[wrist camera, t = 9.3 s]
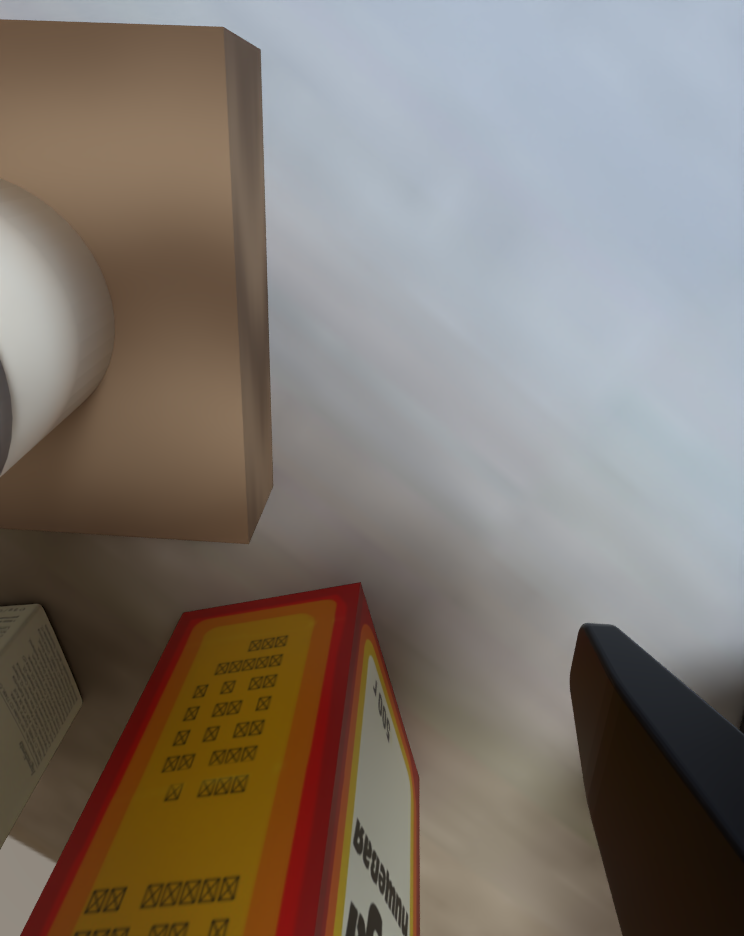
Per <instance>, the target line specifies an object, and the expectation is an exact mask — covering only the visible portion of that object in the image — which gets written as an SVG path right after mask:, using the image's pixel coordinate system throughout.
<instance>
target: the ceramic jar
mask: <svg viewBox="0 0 744 936" xmlns="http://www.w3.org/2000/svg"><path fill="white" fill-rule="evenodd" d="M114 336H115V327H114V313H113V307H112V301H111V298H110V294H109V291H108V287H107V284H106V282H105V279H104V277H103V274H102V272H101V270H100V268H99V266H98V264H97V262H96V260H95V258H94V257H93V255H92V253H91V251H90V250H89V249H88V247H87V246H86V244H85V243H84V242H83V240H82V239H81V237H80V236H79V235H78V234H77V233H76V231H75V230H74V229H73V228H72V227H71V226H70V225H69V223H68V222H67V221H66V220H65V219H64V218H62V217H61V216H60V215H59V214H58V213H57V212H56V211H55V210H54V209H53V208H51V207H50V206H49V205H47V204H46V203H45V202H43V201H42V200H40V199H39V198H38V197H36V196H35V195H33V194H31V193H30V192H28V191H26V190H24V189H23V188H21V187H19V186H17V185H15V184H13V183H10V182H8V181H6V180H3V179H1V178H0V477H1V476H2V475H3V474H4V473H6V472H7V471H8V470H9V469H10V468H11V467H12V466H13V465H14V464H16V463H17V462H18V461H19V460H20V459H21V458H22V457H23V456H24V455H25V454H27V453H28V452H29V451H30V450H31V449H32V448H33V447H34V446H35V445H37V444H38V443H39V442H40V441H41V440H42V439H43V438H44V437H45V436H46V435H48V434H49V433H50V432H51V431H52V430H53V429H54V428H55V427H56V426H58V425H59V424H60V423H61V422H62V421H63V420H64V419H65V418H66V417H68V416H69V415H70V414H71V413H72V412H73V411H74V410H75V409H76V408H77V407H79V406H80V405H81V404H82V403H83V402H84V401H85V400H86V399H87V398H88V397H89V396H90V395H91V394H92V393H93V392H94V390H95V389H96V388H97V386H98V385H99V383H100V382H101V380H102V379H103V377H104V375H105V372H106V370H107V368H108V365H109V362H110V359H111V355H112V351H113V345H114Z"/></svg>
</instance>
